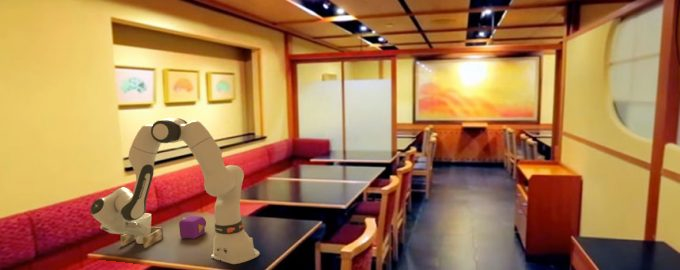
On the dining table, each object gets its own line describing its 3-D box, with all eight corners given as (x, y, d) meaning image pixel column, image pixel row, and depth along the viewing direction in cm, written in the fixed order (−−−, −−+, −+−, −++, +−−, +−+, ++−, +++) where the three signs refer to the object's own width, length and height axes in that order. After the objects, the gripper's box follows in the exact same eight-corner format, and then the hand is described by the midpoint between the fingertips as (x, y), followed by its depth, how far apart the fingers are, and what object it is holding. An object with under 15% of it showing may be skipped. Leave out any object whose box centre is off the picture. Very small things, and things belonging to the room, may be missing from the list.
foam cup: (133, 239, 211) (130, 215, 210) (153, 236, 215) (150, 212, 213) (132, 246, 203) (130, 220, 201) (153, 242, 206) (151, 217, 205)
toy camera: (210, 230, 221) (208, 212, 220) (198, 239, 208) (197, 220, 207) (190, 230, 222) (189, 212, 221) (178, 239, 209) (176, 220, 208)
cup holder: (145, 247, 200) (144, 236, 199) (121, 246, 203) (120, 235, 203) (163, 237, 212) (162, 227, 212) (140, 236, 216) (139, 226, 215)
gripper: (140, 217, 192) (156, 230, 203) (103, 215, 197) (121, 228, 208) (134, 229, 188) (150, 242, 199) (96, 227, 193) (115, 240, 204)
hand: (135, 235), depth 203 cm, fingers closed, pressing on foam cup
